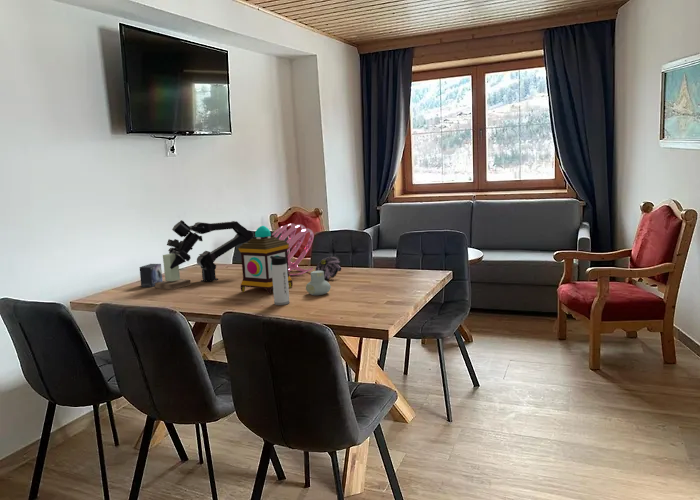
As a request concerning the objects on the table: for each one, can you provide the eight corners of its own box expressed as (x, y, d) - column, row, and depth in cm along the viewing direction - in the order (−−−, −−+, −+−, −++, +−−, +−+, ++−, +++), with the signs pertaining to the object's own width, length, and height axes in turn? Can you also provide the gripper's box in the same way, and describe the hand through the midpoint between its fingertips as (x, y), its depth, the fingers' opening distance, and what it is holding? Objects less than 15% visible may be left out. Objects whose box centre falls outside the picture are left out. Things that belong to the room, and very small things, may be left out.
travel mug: (273, 302, 234) (270, 255, 231) (289, 301, 234) (286, 254, 231) (273, 305, 228) (269, 257, 225) (289, 304, 228) (285, 256, 225)
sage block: (180, 279, 280) (177, 253, 278) (172, 281, 276) (169, 255, 274) (173, 278, 283) (170, 253, 281) (165, 280, 279) (162, 255, 277)
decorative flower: (305, 259, 281) (332, 248, 285) (311, 278, 287) (336, 267, 291) (317, 271, 269) (344, 259, 274) (322, 290, 275) (349, 278, 279)
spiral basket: (336, 234, 294) (296, 206, 301) (306, 255, 273) (264, 225, 279) (320, 272, 311) (282, 245, 317) (290, 295, 289) (251, 265, 296)
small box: (152, 287, 280) (150, 267, 279) (140, 287, 282) (138, 267, 280) (163, 283, 290) (161, 263, 289) (152, 283, 292) (150, 263, 290)
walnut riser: (190, 284, 282) (190, 279, 282) (172, 289, 272) (171, 284, 271) (174, 283, 288) (173, 278, 288) (155, 288, 278) (155, 283, 278)
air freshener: (304, 293, 247) (302, 271, 246) (319, 290, 252) (318, 268, 251) (317, 297, 239) (316, 274, 237) (333, 294, 243) (332, 271, 242)
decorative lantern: (269, 296, 247) (264, 228, 242) (236, 292, 257) (231, 228, 253) (297, 286, 263) (292, 223, 259) (264, 284, 274) (260, 223, 270)
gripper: (170, 231, 286) (150, 255, 282) (181, 234, 271) (161, 259, 266) (187, 245, 291) (168, 269, 287) (199, 248, 276) (179, 273, 272)
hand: (168, 267), depth 278 cm, fingers closed on sage block, 6 cm apart
